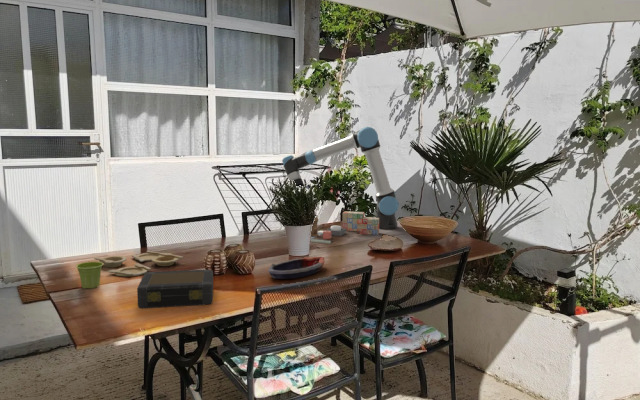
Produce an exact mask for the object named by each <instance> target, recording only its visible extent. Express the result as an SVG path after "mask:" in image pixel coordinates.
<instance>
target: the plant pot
mask: <svg viewBox="0 0 640 400" xmlns="http://www.w3.org/2000/svg"><path fill="white" fill-rule="evenodd" d="M103 266H104V263H101V262H99V261H87V262H86V261H85V262H81V263H78V264H77V265H76V266H75V268H77V271H78V275H79V279H80V283H81V287H82V288H83V289H96V288H98V287H99V286H100V283H101V273H102V267H103Z"/></svg>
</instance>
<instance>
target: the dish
mask: <svg viewBox="0 0 640 400" xmlns="http://www.w3.org/2000/svg"><path fill="white" fill-rule="evenodd" d="M325 260H326V259H325V257H322V256H311V257H309V256H308V257H300V258H294V259H289V260H284V261H281V262H277V263H272V264H271V265H270V266H269V267H268V270H267V272H268V273H269V276H271V277H272V278H273V279H277V280H292V279H293V280H294V279H298V278H304V277H307V276H308V277H309V276H312V275H314V274H316V273H318V272H321V270H322V269H323V266H324V265H325Z"/></svg>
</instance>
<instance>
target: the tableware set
mask: <svg viewBox="0 0 640 400" xmlns="http://www.w3.org/2000/svg"><path fill="white" fill-rule="evenodd" d="M131 258H133V259H134V260H136V261H138V262H136V263H134V264H133V265H134V266H126V267H121V268H118V269H109V270H107V271H106V272H107V273H110V274H114V275H115V276H118V277H128V278H129V277H138V276H141V275H145V274H146V273H147V272H149V271H152V269H151V268H152V267H149V266H146V265H144V264H141V263H143V262H150V261H151V262H152V263H155V264H156V265H157V266H159V267H169V266H172V265H174V264H175V262H178V260H179V259H184V256H181V255H177V254H173V253H171V252H170V253H169V252H159V251H158V252H157V251H151V250H147V251H146V252H143V253H139V254H132V255H131ZM93 259H94V260H95V261H98V262H101V263H103V266H105V267H106V268H116V267H120V266H122V264H123V263H124V262H125V261H127V260H128V258H127V256H123V255H122V256H121V255H112V256H111V255H109V256H104V257H98V256H96V257H94V258H93ZM139 262H140V263H139Z"/></svg>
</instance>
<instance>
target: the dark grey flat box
mask: <svg viewBox="0 0 640 400" xmlns="http://www.w3.org/2000/svg"><path fill="white" fill-rule="evenodd" d="M136 292H137V294H136V296H137V308H138V309H156V308H157V309H158V308H160V309H161V308H174V307H175V308H177V307H178V308H179V307H195V306H207V305H208V306H209V305H211V304H213V299H214V271H213V270H212V269H191V270H187V269H186V270H167V271H165V270H164V271H148V272H147V273H145V274H143V277H142V278H141V281H140V282H139V284H138V286H137V290H136Z"/></svg>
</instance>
